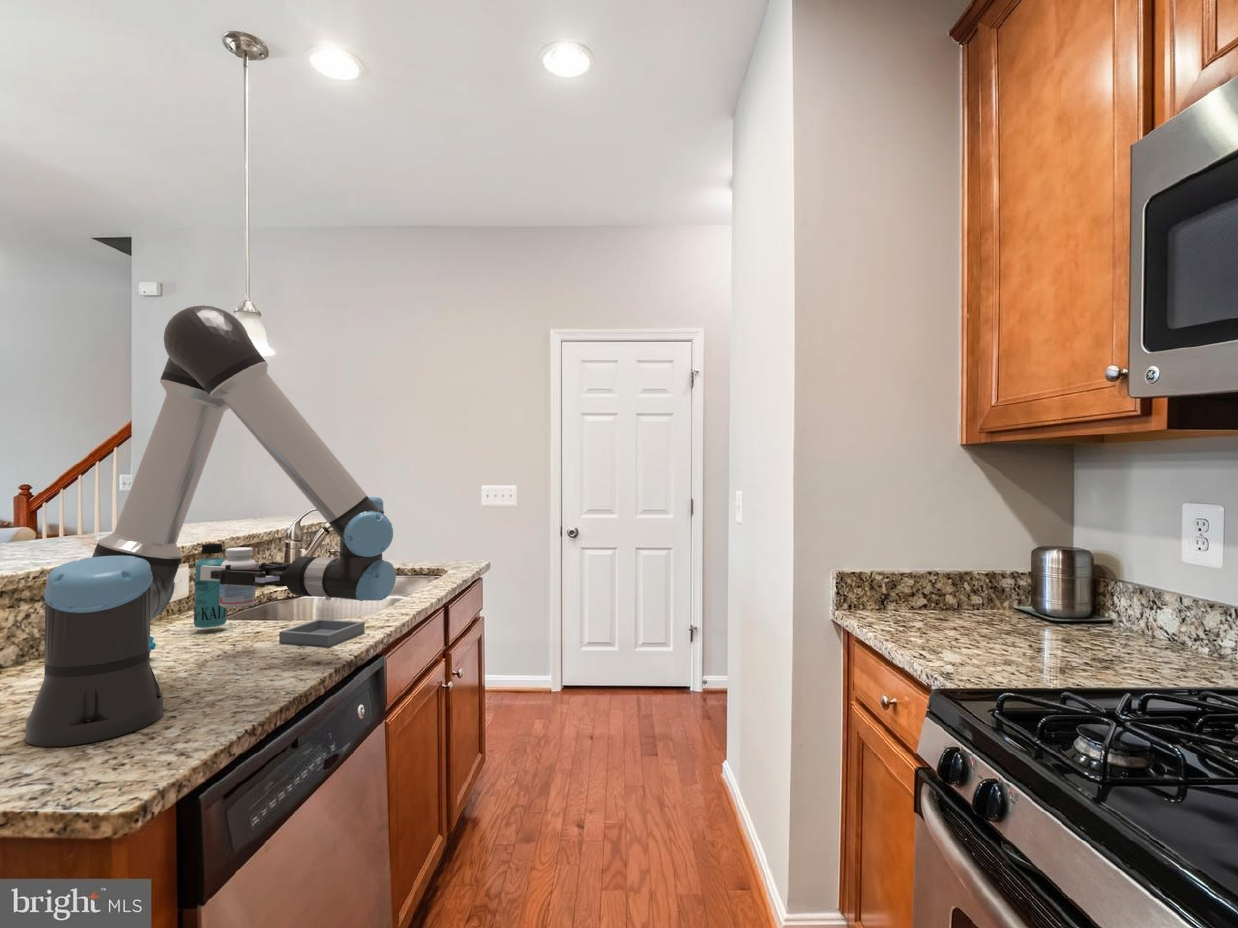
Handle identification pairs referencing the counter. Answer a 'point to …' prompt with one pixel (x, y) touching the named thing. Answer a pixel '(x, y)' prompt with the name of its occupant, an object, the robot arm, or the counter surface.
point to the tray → (322, 633)
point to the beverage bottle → (208, 592)
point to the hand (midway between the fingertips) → (217, 570)
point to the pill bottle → (238, 593)
